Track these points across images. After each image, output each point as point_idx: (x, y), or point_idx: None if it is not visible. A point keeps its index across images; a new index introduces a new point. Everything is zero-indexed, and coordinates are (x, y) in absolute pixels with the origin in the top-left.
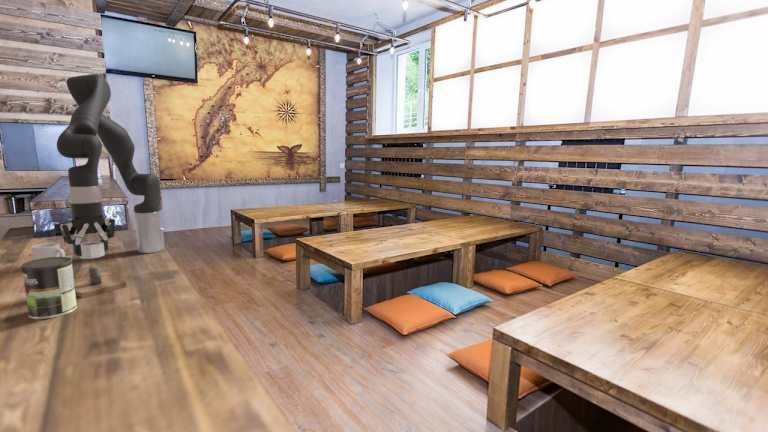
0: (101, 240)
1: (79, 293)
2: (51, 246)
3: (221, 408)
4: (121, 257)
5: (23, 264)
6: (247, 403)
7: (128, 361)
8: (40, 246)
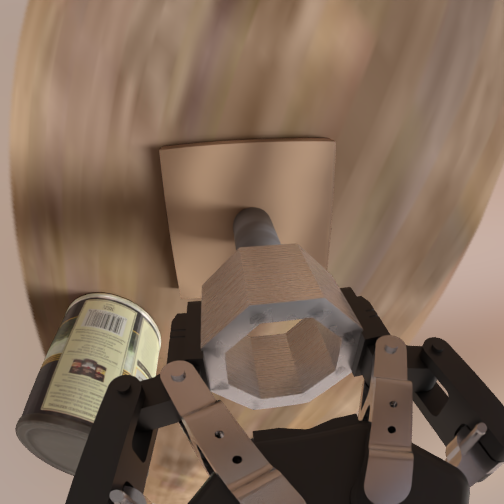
0: (363, 352)
1: (178, 283)
2: None
3: None
4: None
5: (20, 436)
6: None
7: (189, 485)
8: None
